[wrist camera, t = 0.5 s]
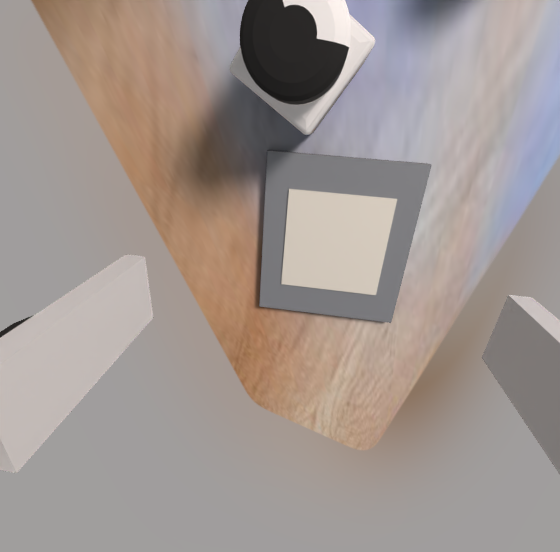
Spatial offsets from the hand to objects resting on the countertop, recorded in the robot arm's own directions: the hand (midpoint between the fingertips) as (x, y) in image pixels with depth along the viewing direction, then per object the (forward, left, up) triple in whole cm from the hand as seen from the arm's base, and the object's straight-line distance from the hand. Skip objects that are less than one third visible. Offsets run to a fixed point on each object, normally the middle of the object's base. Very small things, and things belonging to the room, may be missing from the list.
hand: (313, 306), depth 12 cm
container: (-11, -3, -25) cm, 27 cm away
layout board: (+5, +2, -25) cm, 25 cm away
